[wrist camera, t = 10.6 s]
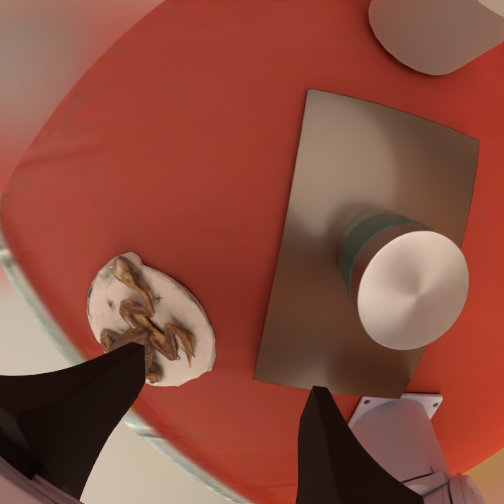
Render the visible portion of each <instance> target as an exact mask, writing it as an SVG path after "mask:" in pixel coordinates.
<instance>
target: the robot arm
mask: <svg viewBox="0 0 504 504" xmlns="http://www.w3.org/2000/svg"><path fill="white" fill-rule="evenodd" d="M145 381H146V370H145V345H142V344H139V343H136V342H133V341H132V342H130V343H128V344H125V345H123V346H121V347H119V348H117V349H115V350H112V351H110V352H108V353H106V354H104V355H101V356H99V357H97V358H94V359H92V360H89V361H87V362H84V363H81V364H79V365H76V366H73V367H70V368H66V369H62V370H58V371H54V372H49V373H42V374H36V375H26V376H25V375H24V376H5V375H4V376H3V375H0V504H84V503H82V502H80V497H81V495H82V492H83V489H84V487H85V484H86V482H87V479H88V477H89V475H90V472H91V470H92V468H93V466H94V464H95V462H96V460H97V458H98V456H99V454H100V452H101V450H102V448H103V446H104V444H105V443H106V441H107V439H108V437H109V436H110V434H111V433H112V431H113V430H114V428H115V427H116V426H117V424H118V423H119V421H120V420H121V419H122V418H123V416H124V415H125V414H126V412H127V411H128V409H129V408H130V407H131V405H132V404H133V403H134V401H135V400H136V398H137V397H138V395H139V393H140V391H141V389H142V387H143V385H144V383H145ZM365 400H368V401H365ZM442 400H443V397H442V395H441V394H417V393H403V394H402V396H401V398H400V399H387V398H374V397H363V396H362V398H361V400H360V402H359V404H358V406H357V408H356V410H355V412H354V414H353V415H352V417H351V419H350V421H349V423H348V424H347V423H346V421H345V419H344V418H343V416H342V414H341V412H340V411H339V409H338V407H337V405H336V403H335V401H334V399H333V397H332V395H331V393H330V391H329V389H328V388H327V387H321V386H314V385H313V387H312V389H311V392H310V395H309V397H308V400H307V403H306V405H305V408H304V410H303V413H302V415H301V418H300V425H299V434H298V490H297V498H296V504H484V501H483V499H482V496H481V494H480V492H479V490H478V488H477V486H476V485H475V483H474V482H473V480H472V479H471V478H470V477H469V476H467V475H462V474H459V473H458V474H456V475H455V476H453V477H452V476H451V473H450V471H449V468H448V465H447V462H446V460H445V457H444V454H443V452H442V449H441V446H440V444H439V441H438V439H437V436H436V434H435V431H434V429H433V426H432V424H431V421H430V419H431V418H432V416H433V414H434V413H435V411H436V410H437V408H438V407H439V405H440V403H441V402H442Z"/></svg>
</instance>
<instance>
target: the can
mask: <svg viewBox="0 0 504 504" xmlns="http://www.w3.org/2000/svg"><path fill="white" fill-rule="evenodd" d="M368 13H369V23H370V25H371V27H372V30H373V32H374V34H375V36H376V38H377V39H378V40H379V41H380V43H381V44H382V45H383V46H384V48H385V49H386V50H387V51H388V52H389V53H390V54H392V55H393V56H394V57H395V58H396V59H397V60H399V61H400V62H401V63H403V64H405V65H407V66H409V67H410V68H412V69H414V70H416V71H419V72H422V73H426V74H430V75H447V74H449V73H451V72H453V71H455V70H457V69H459V68H461V67H462V66H464V65H465V64H467V63H469V62H470V61H472V60H474V59H475V58H477V57H479V56H480V55H482V54H484V53H485V52H487V51H489V50H490V49H492V48H494V47H495V46H497V45H499V44H501V43H502V42H504V0H371V3H370V6H369V8H368Z"/></svg>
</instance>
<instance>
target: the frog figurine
mask: <svg viewBox="0 0 504 504" xmlns="http://www.w3.org/2000/svg"><path fill="white" fill-rule="evenodd" d="M87 302H88V306H87V315H88V317H89V323H90V325H91V328H92V331H93V333H94V334H95V337H96V339H97V340H98V342H100V343H101V344H102V346H103V347H104V348H106V350H107V351H108V352H110V351H112V350H115V349H117V348H119V347H121V346H123V345H125V344H128V343H130V342H132V341H133V342H136V343H139V344H142V345H145V370H146V381H145V383H147V384H150V385H154V386H180V385H181V384H183V383H185V382H187V381H188V380H191V379H195V378H198V377H199V376H200V375H202V374H203V373H205V372H207V371H212V367H213V364H214V361H215V358H216V348H215V342H216V339H215V335H214V331H213V327H212V325H211V324H210V322H209V319H208V317H207V314H206V312H205V311H204V308H203V307H202V305H201V304H200V303H199V301H198V300H197V299H196V298H195V297H194V296H193V294H192V293H191V292H190V291H189V290H188V289H187V288H186V287H184V286H182V285H181V284H179V283H178V282H177V281H176V280H174V279H173V278H171V277H170V276H168V275H166V274H164V273H163V272H160V271H159V270H157V269H154V268H152V267H151V268H150V267H148V266H145V265H144V264H143V262H142V259H141V258H140V256H138V255H137V254H135V253H134V252H127V253H124V254H122V255H119V256H115V257H114V258H113V259H111V260H110V261H109V262H108V263H107V264H105V266H104V267H103V268H102V269H101V270H99V271H98V275H97V277H96V278H95V279H94V281H92V284H91V287H90V289H89V292H88V297H87ZM104 352H105V351H104ZM108 352H105V353H108Z"/></svg>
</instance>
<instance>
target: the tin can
mask: <svg viewBox="0 0 504 504" xmlns="http://www.w3.org/2000/svg"><path fill="white" fill-rule="evenodd" d="M336 257H337V263H338V267H339V269H340V272H341V276H342V279H343V281H344V284H345V286H346V289H347V291H348V294H349V296H350V299H351V302H352V304H353V306H354V308H355V310H356V312H357V314H358V316H359V319H360V322H361V324H362V326H363V328H364V329H365V331H366V332H367V334H368V335H369V336H370V337H371V338H372V339H373V340H375V341H376V342H377V343H379V344H381V345H383V346H385V347H388V348H391V349H396V350H410V349H415V348H419V347H422V346H425V345H427V344H429V343H431V342H433V341H435V340H436V339H438V338H439V337H440V336H442V335H443V334H444V333H445V332H446V331H447V330H448V329H449V328H450V327H451V326H452V325H453V324H454V322H455V321H456V319H457V318H458V316H459V315H460V313H461V311H462V309H463V307H464V304H465V301H466V298H467V294H468V289H469V272H468V266H467V263H466V260H465V257H464V255H463V253H462V251H461V250H460V248H459V247H458V246H457V245H456V244H455V242H454V241H452V240H451V239H450V238H449V237H447V236H445V235H443V234H441V233H439V232H437V231H435V230H433V229H432V228H430V227H428V226H426V225H424V224H422V223H419V222H417V221H415V220H412V219H410V218H407V217H405V216H402V215H399V214H395V213H393V212H390V211H387V210H370V211H366V212H364V213H361V214H359V215H358V216H356V217H355V218H353V219H352V220H351V221H350V222H349V223H348V224H347V225H346V227H345V228H344V229H343V231H342V233H341V235H340V237H339V240H338V243H337V249H336Z"/></svg>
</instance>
